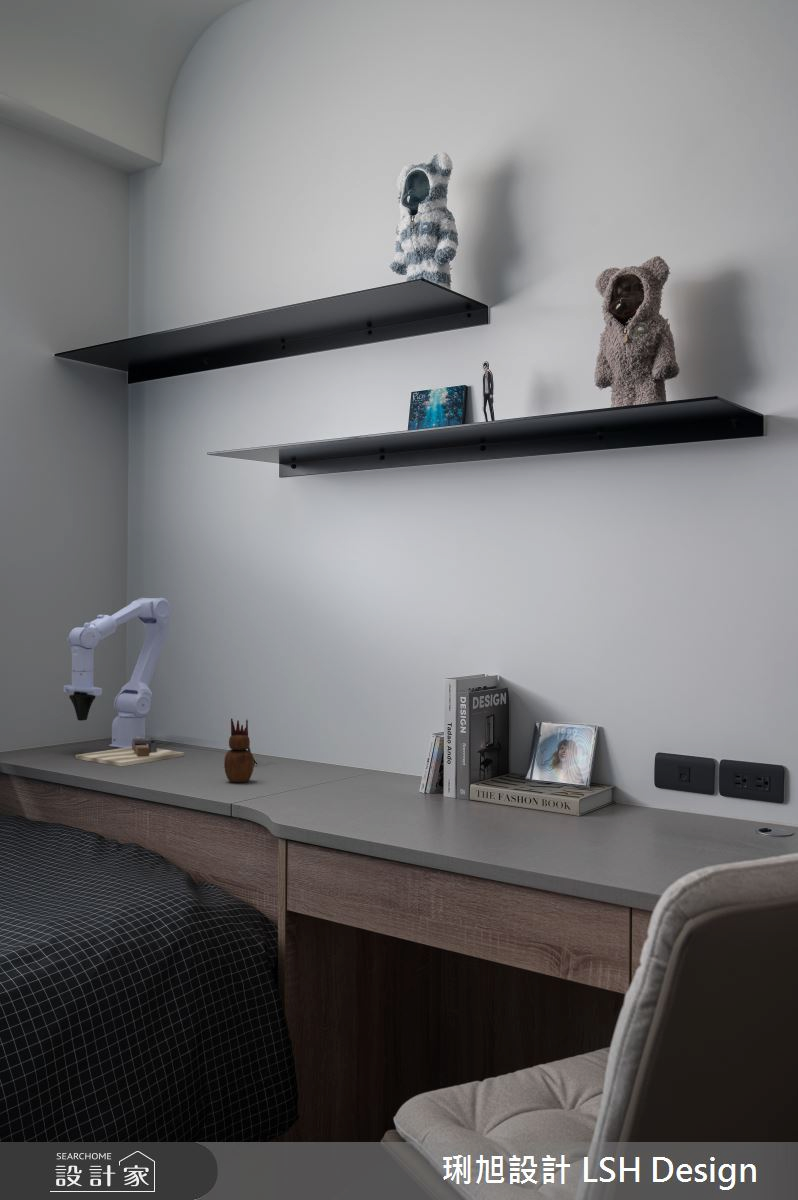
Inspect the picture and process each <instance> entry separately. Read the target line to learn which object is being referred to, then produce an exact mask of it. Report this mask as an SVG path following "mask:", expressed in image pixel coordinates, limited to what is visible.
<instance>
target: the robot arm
mask: <svg viewBox="0 0 798 1200" xmlns="http://www.w3.org/2000/svg"><path fill="white" fill-rule="evenodd" d="M172 613H173V609H172V608H171V604H170V602H169V601H168V600H167V598H165V597H159V598H158V597H157V598H155V597H154V598H152V597H151V598H147V597H139V598H138V599H136V600H133V601H132V602H130V603H129V604H128V605H126V606H125V607H123V608H121V609H120V610H118V611H117V612H115V613H113V614H112V615H108V614H98V615H97V616H96V617H97V618H96V619H93V620H92V621H90V622H89V621H88V622H85V623H84V624H83V626H82V627H80V626H79V627H78V626H77V627H74V628H73V629H72V630H71V631H70V633H69V634H68V637H67V638H66V641H67V643H68V645H69V646H70V652H71V684H66V685H65V684H64V685H63V693H71V694H70V695H69V697H68V698H69V699H70V701H71V703H72V705H73V707H74V710H75V715H76V719H77V721H79V722H81V721H87V720H88V717H89V712H90V710H91V707H92V704H93V702H94V700H95V699H96V697H97V696H102V695H103V688H102V687H97V686H94V671H95V670H94V664H95V663H94V660H95V657H94V656H95V655H94V654H95V653H94V649H95V647H97V645H98V643H99V642H100V641H102V640H103V639H105V638H107V637H108V636H110V635H112V634H114V633H115V632H116V631H117V627H118V626H120V625H122V624H124V623H126V622H129V621H131V620H132V619H135V618H136V617H137V619H138V620H139V621H140V622H141V623H142V625H143V627H145V628H146V631H147V634H146V637H145V639H144V643H143V645H142V648H141V650H140V653H139V656H138V659H137V661H136V664H135V667H134V669H133V671H132V675H131V677H130V680H129V681H128V682H127V683H126V684H124V685H123V686H122V687H121V689H120V691H119V693H118V694H117V695H116V696H115V698H114V700H113V707H114V710H115V711H116V712H117V713H118V714H117V716H115V717H114V718H113V721H112V723H111V744H110V743H109V745H108V746H109V747H112V748H113V747H114V748H117V749H120V748H127V747H132V739H135V737H142V739H145V738H146V717H147V715H148V713H149V712H150V710H151V703H152V702H151V701H152V697H153V693H152V691H151V689H150V688H149V687H150V683H151V681H152V677H153V675H154V672H155V670H156V668H157V664H158V661H159V659H160V657H161V653H162V651H163V647H164V645H165V642H166V639H167V637H168V635H169V630H170V629H169V626H170V625H169V623H170V617H171V615H172ZM146 744H147V745H148V743H146Z"/></svg>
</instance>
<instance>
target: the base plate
mask: <svg viewBox="0 0 798 1200" xmlns="http://www.w3.org/2000/svg"><path fill="white" fill-rule="evenodd" d="M184 756H185V752H183V751H176V750H171V749H170V750H169V749H162V748H157V752H155V753H150V752H149V755H147V756H137V754H136V753H135V751H134V749H133V748H132V747H127V748H114V749H108V750H100V751H93V752H86V753H81V754H75V759H77V760H80V761H88V762H92V763H98V764H99V763H100V764H105V765H110V766H116V767H126V766H132V765H138V764H139V765H140V764H144V763H150V762H157V761H162V760H168V759H175V758H180V757H181V758H182V757H184Z"/></svg>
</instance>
